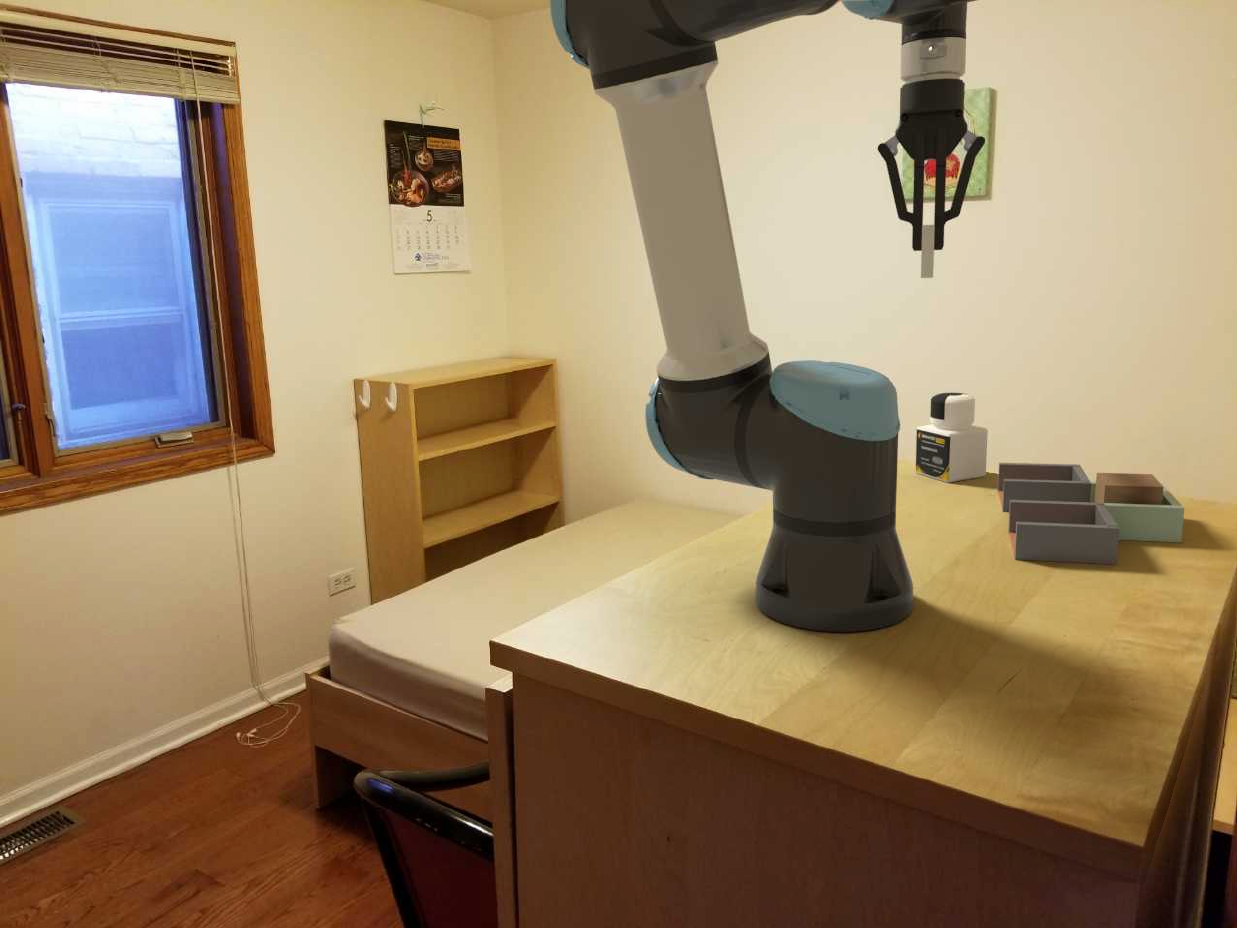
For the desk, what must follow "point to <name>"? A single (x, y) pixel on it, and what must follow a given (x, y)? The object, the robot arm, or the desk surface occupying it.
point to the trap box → (1076, 515)
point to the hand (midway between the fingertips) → (927, 277)
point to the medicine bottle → (951, 440)
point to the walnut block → (1128, 489)
